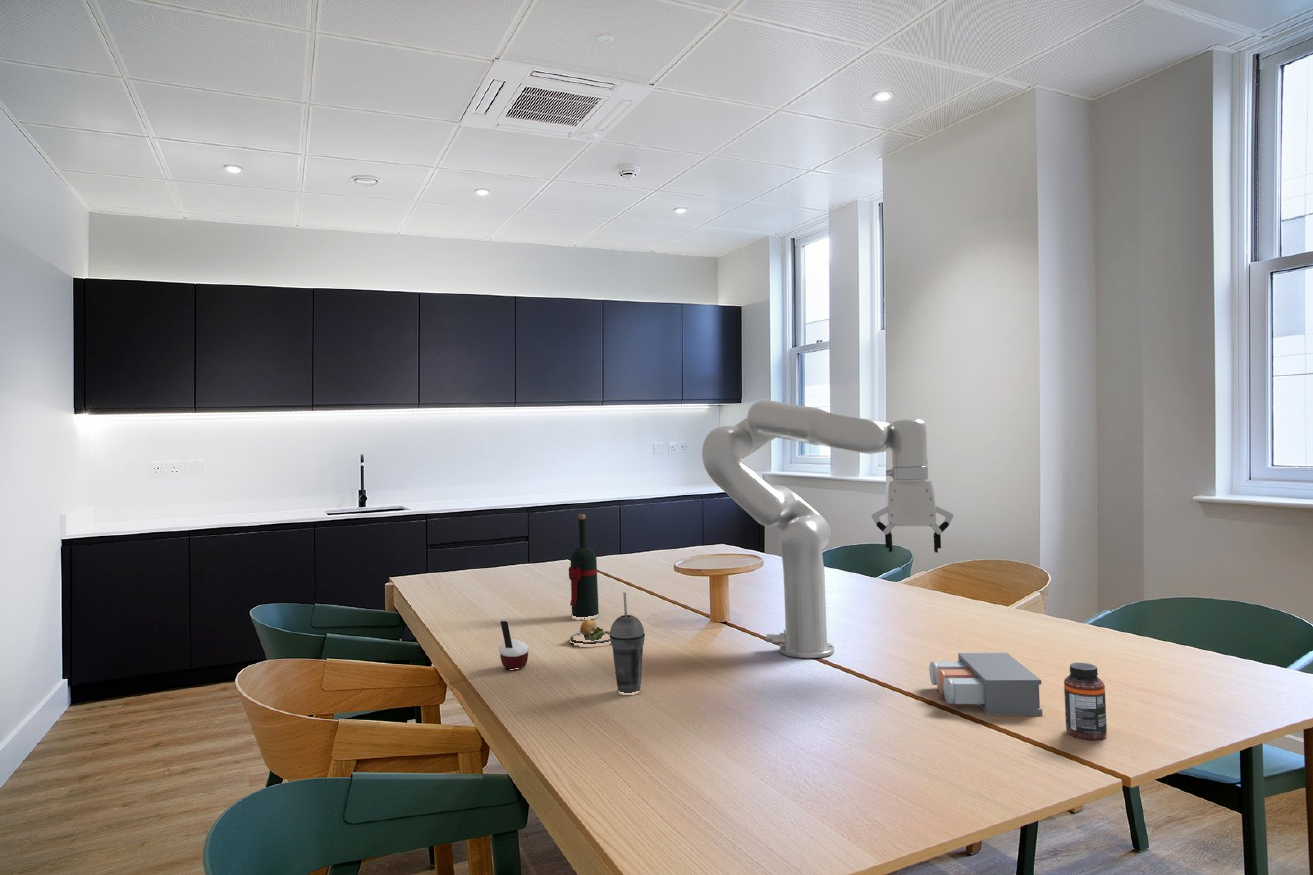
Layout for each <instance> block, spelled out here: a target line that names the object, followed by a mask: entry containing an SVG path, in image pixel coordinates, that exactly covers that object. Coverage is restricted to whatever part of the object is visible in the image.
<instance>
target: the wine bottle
mask: <svg viewBox="0 0 1313 875" xmlns="http://www.w3.org/2000/svg"><path fill="white" fill-rule="evenodd" d="M586 516H587V515H586V514H584V513H583V514H577V517H578V520H577V521H578V547H577V548H575V549H574V550H573V551H572V552H571V555H570V557H569V558H570V560H569V561H570V566H569V567H568V578H569V580H570V591H571V592H570V593H571V595H570V597H571V599H570V605H569V607H571V616H572V615H573V616H576V617H588V616H594V615H597V614H599V615H600V612H599V588H598V586H599V585H598V565H597V555H596V552H595V551H594V550H593V549H591V547H588V540H587V538H588V536H587V517H586Z"/></svg>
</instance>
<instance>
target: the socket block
mask: <svg viewBox="0 0 1313 875" xmlns="http://www.w3.org/2000/svg"><path fill="white" fill-rule="evenodd" d="M957 657H958V658H957V660H958V661H963V662H964V663H965V664H966V665H967V669H971V670H972V671H973V672H974V673H975V678H980V679H981V680H982V681H983V682H984V694H985V704H977V706H979V708H980V710H982V711H983V712H984V713H985V714H986V716H1043V708H1041V705H1040V685H1042V679H1041V678H1039V676H1037V675H1036V674H1034V673H1033V672H1032V671H1030V670H1029V669H1028V668H1027V667H1025V666H1024V665H1023V664H1022V663H1021V662H1019V661H1018V660H1016V659H1015V658H1014V657H1013V656H1012V655H1010V654H1009V653H1008V652H958V653H957Z"/></svg>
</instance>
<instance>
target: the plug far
mask: <svg viewBox="0 0 1313 875" xmlns="http://www.w3.org/2000/svg"><path fill="white" fill-rule="evenodd" d="M952 669H967V665H966V664H965V663H964V662H963V661H949V660H948V661H930V662H929V668H928V670H929V679H930V683H931V685H933V686H937V682H936V672H937V670H952Z"/></svg>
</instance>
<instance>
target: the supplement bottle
mask: <svg viewBox="0 0 1313 875" xmlns="http://www.w3.org/2000/svg"><path fill="white" fill-rule="evenodd" d="M1098 672H1099V671H1098V667H1097V665H1094V664H1092V663H1086V662H1073V663H1071V664H1069V675H1068V676H1066V677H1065V678H1064V680H1063V681H1064V682H1063V690H1064V692H1063V693H1064V711H1065V712H1064V713H1065V728H1066V729H1065V730H1066V731H1067V733H1069V735H1071V736H1074V737H1076V738H1078V739H1081V740H1089V741H1090V740H1091V741H1094V740H1095V741H1096V740H1102V739H1104V738H1105V737H1107V733H1108V731H1107V729H1108V727H1107V706H1106V705H1107V704H1106V702H1107V701H1106V688H1105V687H1106V685H1105V682H1103V680H1102V679H1100V678H1099V677H1098V675H1099V673H1098Z"/></svg>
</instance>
